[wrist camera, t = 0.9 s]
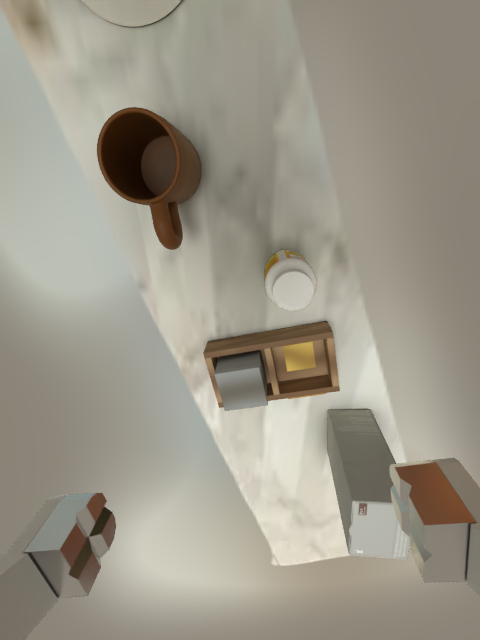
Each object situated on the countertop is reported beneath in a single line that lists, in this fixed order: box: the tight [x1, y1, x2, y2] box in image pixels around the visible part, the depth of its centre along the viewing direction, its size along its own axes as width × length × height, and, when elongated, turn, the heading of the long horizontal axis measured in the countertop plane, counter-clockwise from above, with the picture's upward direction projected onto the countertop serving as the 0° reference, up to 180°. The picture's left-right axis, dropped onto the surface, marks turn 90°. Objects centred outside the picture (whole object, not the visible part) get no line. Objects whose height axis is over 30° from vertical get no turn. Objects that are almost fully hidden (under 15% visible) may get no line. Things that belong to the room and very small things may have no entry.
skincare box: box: [327, 410, 410, 559], centre depth 38 cm, size 8×7×16 cm
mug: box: [97, 107, 201, 250], centre depth 30 cm, size 12×8×9 cm, turn 13°
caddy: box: [203, 321, 340, 411], centre depth 39 cm, size 9×16×7 cm, turn 102°
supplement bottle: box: [264, 250, 317, 311], centre depth 33 cm, size 5×5×10 cm
